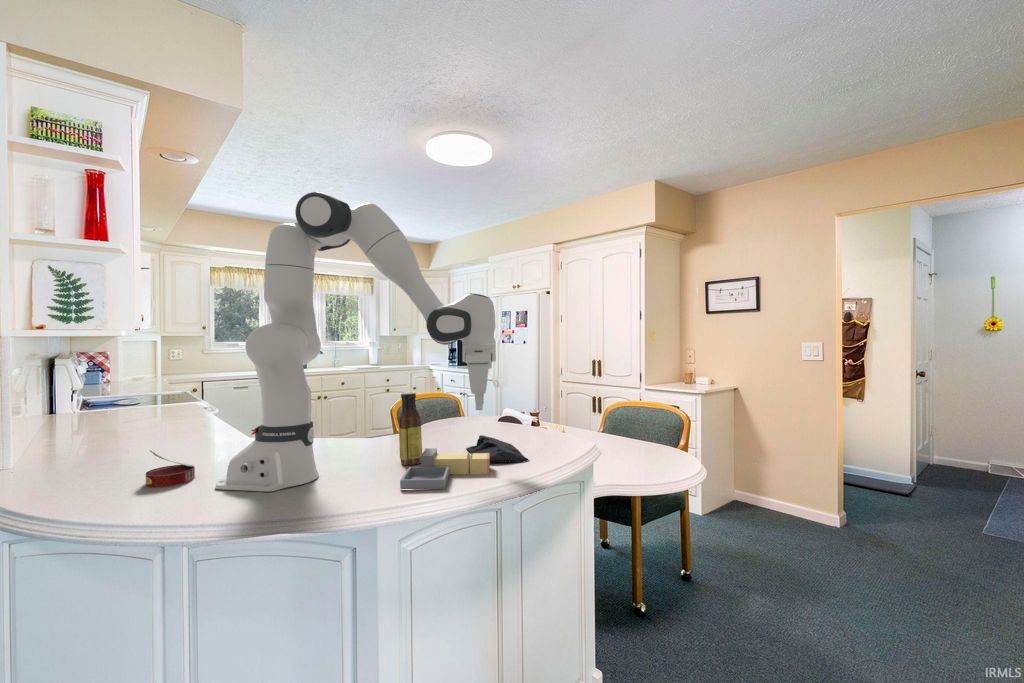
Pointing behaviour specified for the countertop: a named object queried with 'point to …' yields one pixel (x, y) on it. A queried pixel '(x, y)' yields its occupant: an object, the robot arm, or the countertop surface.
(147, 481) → the canned food
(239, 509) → the countertop surface
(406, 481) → the tray
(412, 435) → the sauce bottle
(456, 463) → the beige boxy piece
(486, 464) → the stub
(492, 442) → the crumpled black cloth
